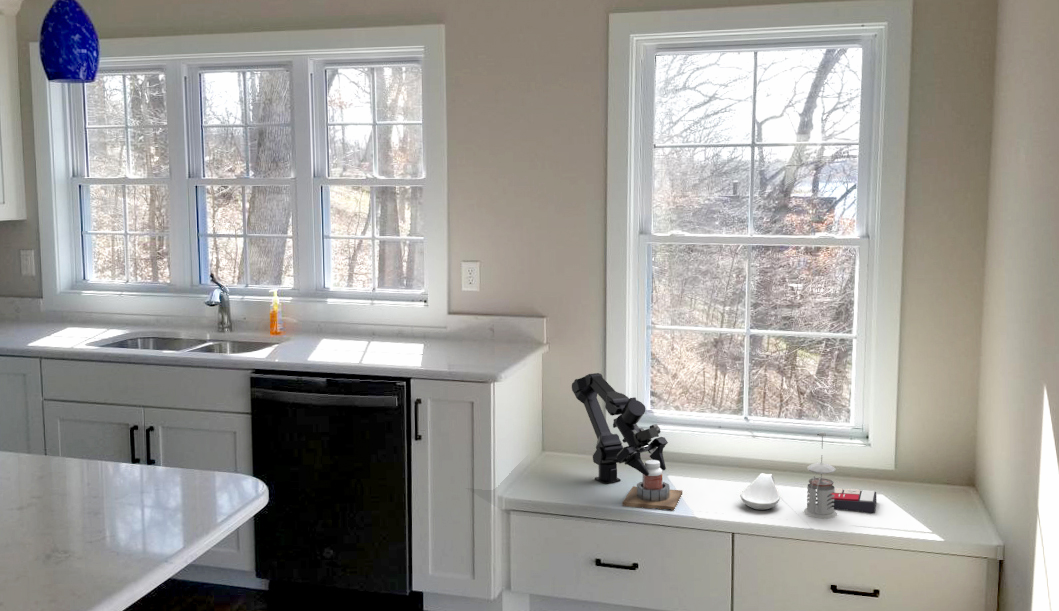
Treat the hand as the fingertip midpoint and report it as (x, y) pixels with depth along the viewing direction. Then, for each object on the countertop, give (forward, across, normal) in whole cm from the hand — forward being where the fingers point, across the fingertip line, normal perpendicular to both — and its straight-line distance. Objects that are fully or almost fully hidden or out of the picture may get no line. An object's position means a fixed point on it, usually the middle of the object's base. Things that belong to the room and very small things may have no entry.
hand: (656, 472), depth 305 cm
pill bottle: (+5, 0, +7) cm, 8 cm away
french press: (+36, +27, -22) cm, 50 cm away
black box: (+37, +40, -24) cm, 60 cm away
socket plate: (+6, 0, +8) cm, 9 cm away
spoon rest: (+23, +24, -9) cm, 35 cm away
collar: (+5, 0, +7) cm, 8 cm away
